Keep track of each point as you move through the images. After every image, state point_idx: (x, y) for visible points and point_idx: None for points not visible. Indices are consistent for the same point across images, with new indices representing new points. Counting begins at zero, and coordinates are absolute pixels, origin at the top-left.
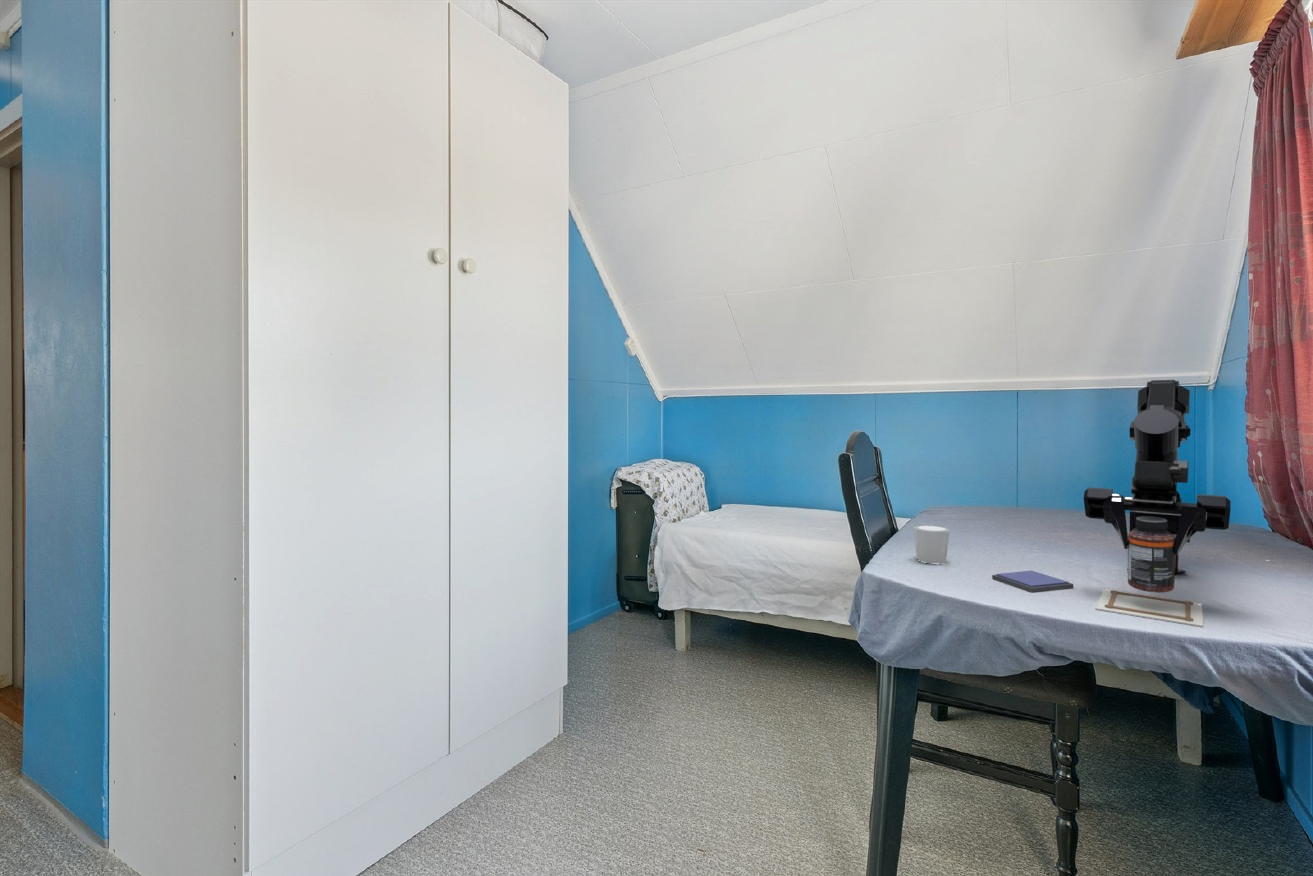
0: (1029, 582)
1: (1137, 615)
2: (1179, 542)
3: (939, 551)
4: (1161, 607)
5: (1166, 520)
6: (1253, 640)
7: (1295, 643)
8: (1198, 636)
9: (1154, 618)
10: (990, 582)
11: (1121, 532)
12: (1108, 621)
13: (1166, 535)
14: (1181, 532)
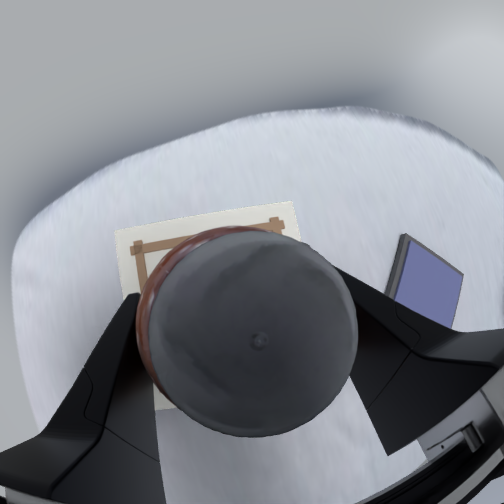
0: (421, 261)
1: (219, 211)
2: (117, 320)
3: None
4: None
5: (152, 344)
6: (55, 215)
7: (17, 249)
8: (118, 167)
9: (190, 217)
10: (452, 249)
11: (363, 285)
12: (249, 143)
13: (158, 290)
14: (101, 361)
